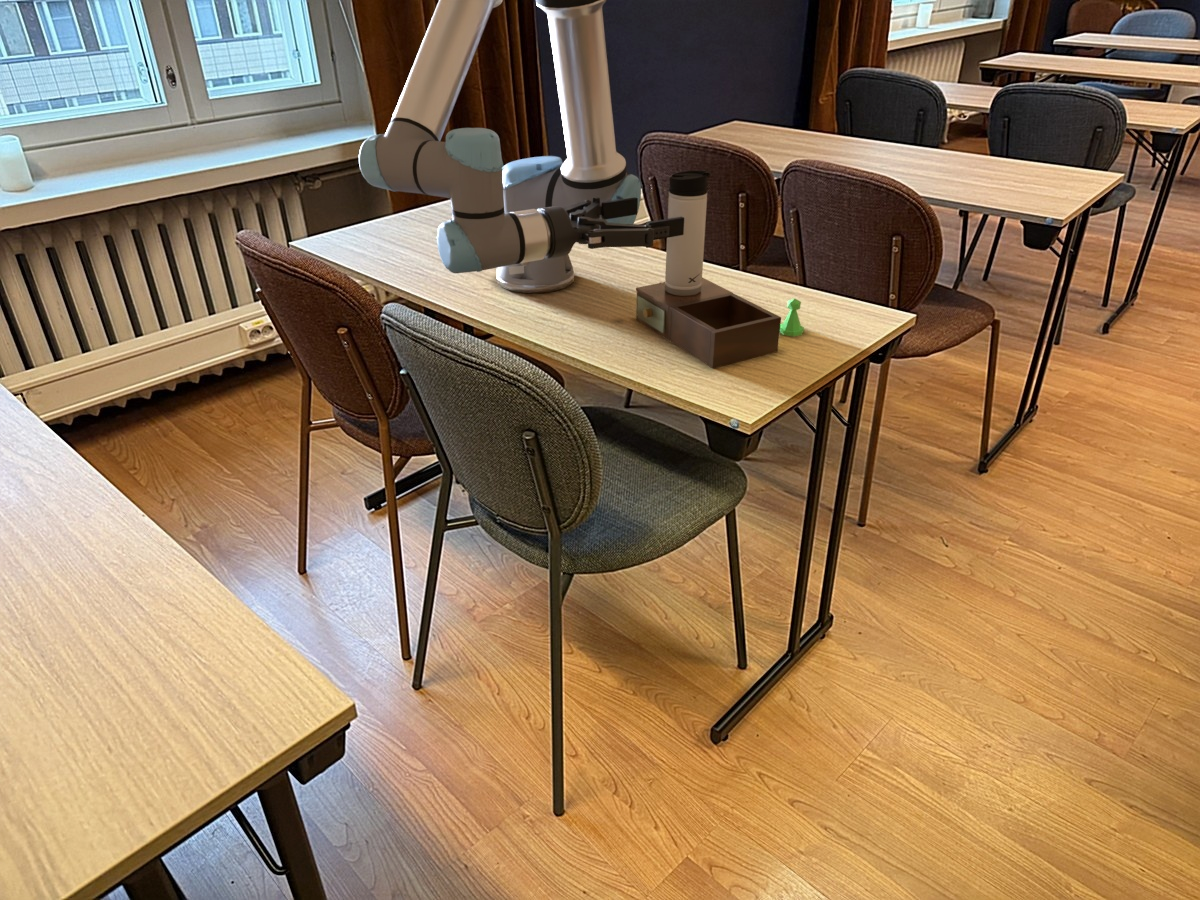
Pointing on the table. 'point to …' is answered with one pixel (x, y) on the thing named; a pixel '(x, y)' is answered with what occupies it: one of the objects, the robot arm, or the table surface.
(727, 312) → the storage box
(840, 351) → the table surface
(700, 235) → the travel mug
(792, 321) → the game piece
